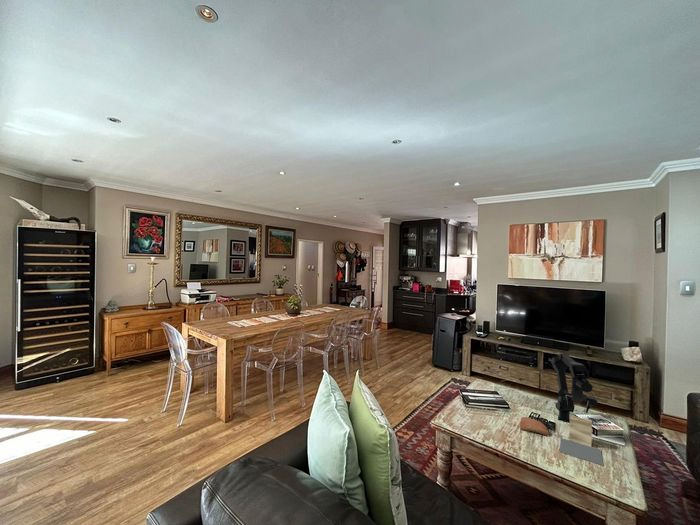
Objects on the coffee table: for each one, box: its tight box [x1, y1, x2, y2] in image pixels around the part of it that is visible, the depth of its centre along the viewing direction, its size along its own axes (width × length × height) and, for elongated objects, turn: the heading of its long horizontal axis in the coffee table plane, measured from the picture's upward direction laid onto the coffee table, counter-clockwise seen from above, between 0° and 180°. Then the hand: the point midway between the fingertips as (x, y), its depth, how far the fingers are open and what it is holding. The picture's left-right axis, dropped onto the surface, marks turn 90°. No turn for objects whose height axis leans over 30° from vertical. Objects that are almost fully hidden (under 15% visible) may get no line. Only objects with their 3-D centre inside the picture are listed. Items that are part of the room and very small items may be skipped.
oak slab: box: [568, 414, 593, 447], centre depth 174 cm, size 4×10×13 cm, turn 54°
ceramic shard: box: [519, 416, 549, 437], centre depth 189 cm, size 15×6×15 cm
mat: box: [559, 437, 604, 466], centre depth 165 cm, size 16×18×1 cm
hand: (576, 410), depth 184 cm, fingers open, 9 cm apart
